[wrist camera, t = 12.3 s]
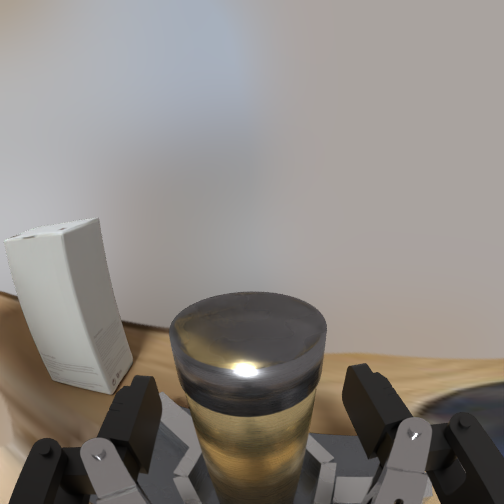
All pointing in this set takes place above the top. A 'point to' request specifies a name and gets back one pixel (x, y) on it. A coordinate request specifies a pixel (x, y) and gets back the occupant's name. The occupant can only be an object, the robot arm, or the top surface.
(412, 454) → the robot arm
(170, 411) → the socket base
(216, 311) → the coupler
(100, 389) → the skincare box
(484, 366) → the top surface
